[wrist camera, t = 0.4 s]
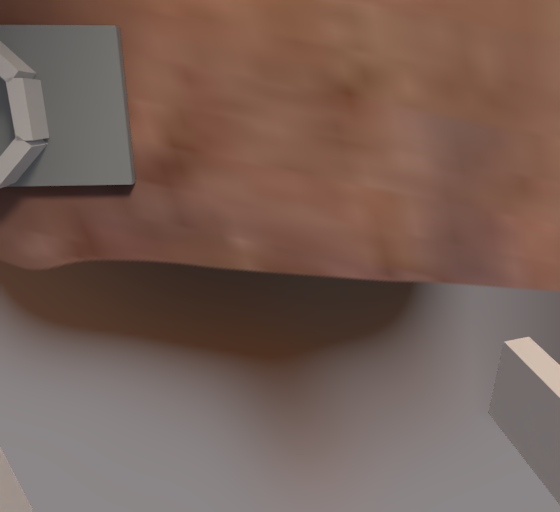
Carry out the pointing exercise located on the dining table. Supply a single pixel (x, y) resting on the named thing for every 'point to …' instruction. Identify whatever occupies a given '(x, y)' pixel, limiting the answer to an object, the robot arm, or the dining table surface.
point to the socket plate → (63, 107)
